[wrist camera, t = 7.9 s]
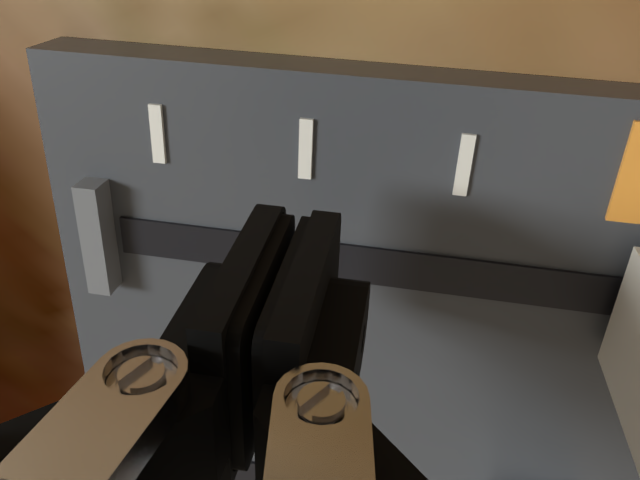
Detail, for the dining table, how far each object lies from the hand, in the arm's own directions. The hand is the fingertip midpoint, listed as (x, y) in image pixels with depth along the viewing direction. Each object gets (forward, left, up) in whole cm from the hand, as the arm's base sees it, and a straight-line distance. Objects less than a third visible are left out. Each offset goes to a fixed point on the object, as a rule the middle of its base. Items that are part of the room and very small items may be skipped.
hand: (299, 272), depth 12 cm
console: (+5, +3, -4) cm, 7 cm away
